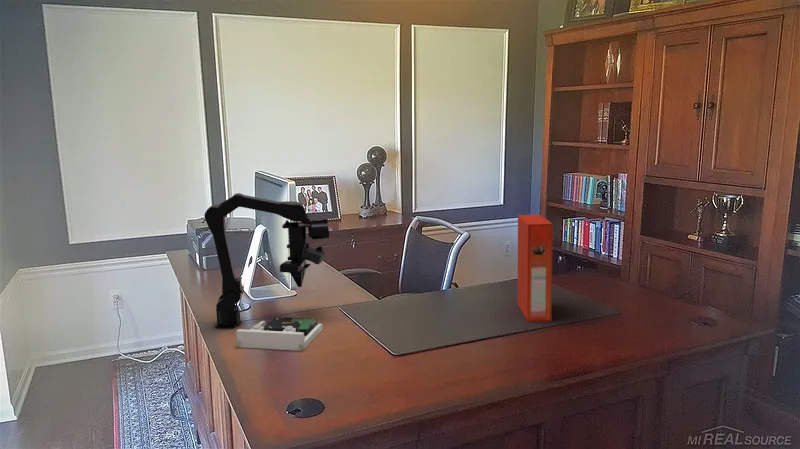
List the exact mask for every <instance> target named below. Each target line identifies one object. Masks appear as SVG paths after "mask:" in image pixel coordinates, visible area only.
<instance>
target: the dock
mask: <svg viewBox="0 0 800 449" xmlns="http://www.w3.org/2000/svg"><path fill="white" fill-rule="evenodd" d="M266 325H267V324H266V320H261V321H259V322H258V323H257V324H254V325H253V326H252V328H251V329H241V328H238V329H237V330H236V346H237V348H243V349H244V348H247V349H260V350H261V349H262V350H264V349H266V350H280V351H282V350H284V351H300V352H301V351H302V352H304V351H305V349H306V348H307V347H308V346H309V345H310V344H311V343H312V342H313V341H314V339H316V337H318V335H319V334H320V333H321V332H322V331H323V323H317V326H316V327H315V328H314V329H313V330H312V331H311V332H310V333H309V334H308V335H307V336H304V333H303V332H296V328H293V326H286V327H285V329H284V330H283V331H264V326H266Z"/></svg>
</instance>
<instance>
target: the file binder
mask: <svg viewBox="0 0 800 449" xmlns="http://www.w3.org/2000/svg"><path fill="white" fill-rule="evenodd" d="M553 225H554V224H553V223H552V222H550V221H549V220H548V219H546V217H544V216H543V215H541V214H523V215H522V214H521V215H520V214H519V215H517V306H518V308H519V309H520V311H521V313H522V314H523V317H524V318H525V320H526V322H528V323H531V322H532V323H537V322H538V323H539V322H540V323H541V322H544V323H545V322H551V321H552V307H553V306H552V305H553V304H552V303H553V302H552V301H553V240H554V237H553V235H554V234H553V232H554V229H553V228H554V226H553Z"/></svg>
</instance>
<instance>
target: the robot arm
mask: <svg viewBox="0 0 800 449" xmlns="http://www.w3.org/2000/svg"><path fill="white" fill-rule="evenodd" d="M238 208H244V209H250V210H254V211H259V212H265V213H269V214H275V215H278V216H280V217H282V218H283V219H286V220H285V222H284V223H283V224H282V225H281V227H282V229H287V234H288V244H286V249H288V251H289V252H288V253H289V256H287V260H285V261H283V262H282V263H281V264H280V265H279V267H278V268H279V273H289V274H290V275H291V277H292V278H293V280H294V282H295V284H296V286H297V288H301V287H303V284H304V279H305V274H306V270H307V269H308V268H309V267H310V266H311V263H313V264H315V265H320V264H321V263H323V260H324V257H325V256H326V252H325V249H324V247H323V246H321V245H318V246H317V247H316V248H315V247H311V245H310V243H309V242H307V238H310V239H311V240H312V241H314V240H315V241H316V240H317V241H318V240H319V241H320V240H330V229H329V223H328V221H329V220H328V218H326V217H325V218H319V219H317V218H316V219H311V217H310V216H309V215H308V213H306V210H305V206H304V205H303V203H301V202H299V201H292V200H291V201H288V200H287V201H276V200H272V199H266V198H261V197H257V196H256V197H255V196H251V195H246V194H242V193H240V192H239V193H238V192H237V193H234V194H233V195H232V196H230V198H228V199H226V200H224V201H222V202H221V203H219V204H212V205H210V206H209V207H208V208H207V209H206V211H205V213H204V220H205V222H206V224H207V227H208V229H209V231H210V232H211V234H212V237H213V241H214V245H215V250H216V254H217V260H218V263H219V268H220V273H221V276H222V278H221V279H222V282H221V284H222V285H221V295H220V296H219V297H218V299H217V302H216V305H215V306H216V308H215V311H216V323H217V324H215V325H214V328H219V329H221V328H222V329H234V328H235V327H237V326H238V325H239V324H241V323H242V319H241V310H239V305H237V304H238V303H239V302H240V301H241V298H242V294H243V293H244V289H245V287H244V286H243V282H242V276H239V277H237V274H236V273H235V269H234V265H233V261H232V256H231V252H230V246H229V241H228V236H227V233H226V225H227V221H226V220H227V218H226V217H227V215H229V214H231V213H233V211H235V210H237V209H238ZM290 221H291V222H290ZM299 222H300V223H301V224H299ZM307 235H308V237H307ZM307 261H308V262H311V263H308V262H307Z"/></svg>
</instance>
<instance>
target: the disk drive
mask: <svg viewBox="0 0 800 449" xmlns="http://www.w3.org/2000/svg"><path fill="white" fill-rule="evenodd" d="M317 325H318V320H317V318H310V317H307V318H306V317H305V318H303V317H282V316H279V317H277V316H274V317H273V318H272V319H271V320H269V321H268V323H267V324H266V326H264V331H283V330H284V329H285V327H286V326H293V328H296V332H303V333H304V337H306V336H307V335H308V334H309V333H310V332H311V331H312V330H313V329H314V328H315V327H316V326H317Z"/></svg>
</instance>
